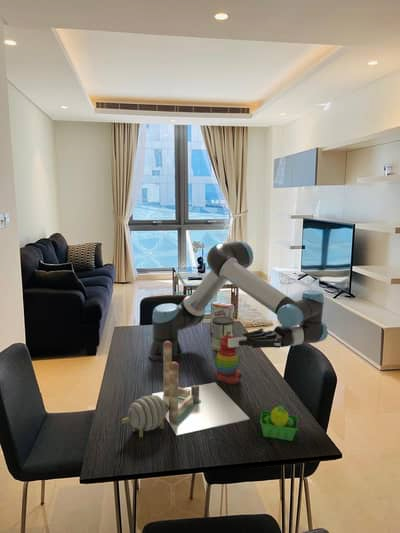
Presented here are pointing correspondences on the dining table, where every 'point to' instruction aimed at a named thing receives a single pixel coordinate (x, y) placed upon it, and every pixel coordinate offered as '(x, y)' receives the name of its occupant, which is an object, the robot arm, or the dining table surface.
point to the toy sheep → (147, 413)
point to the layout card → (206, 411)
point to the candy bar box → (220, 311)
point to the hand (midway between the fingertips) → (228, 343)
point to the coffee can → (221, 330)
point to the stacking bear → (227, 362)
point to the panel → (176, 394)
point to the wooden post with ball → (166, 361)
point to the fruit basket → (279, 424)
